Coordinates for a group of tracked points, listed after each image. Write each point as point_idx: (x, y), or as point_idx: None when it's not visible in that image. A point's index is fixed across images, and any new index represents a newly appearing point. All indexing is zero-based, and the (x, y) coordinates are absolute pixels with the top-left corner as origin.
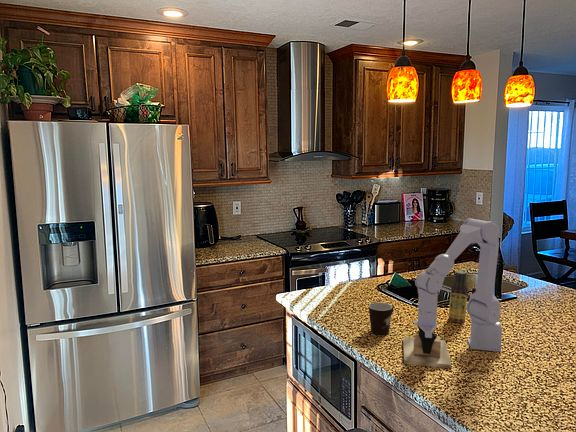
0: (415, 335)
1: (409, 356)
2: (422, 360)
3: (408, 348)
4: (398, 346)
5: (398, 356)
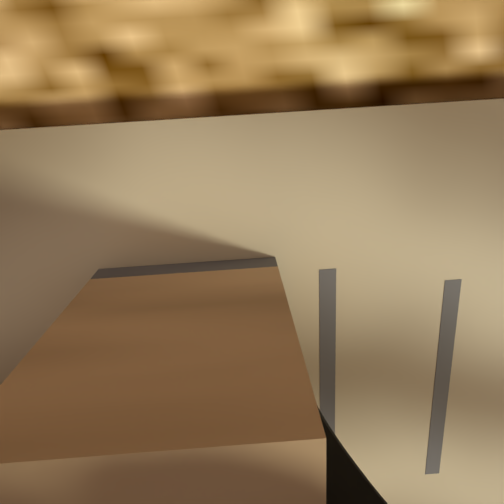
0: (248, 480)
1: (44, 211)
2: (5, 370)
3: (317, 185)
4: (465, 21)
5: (121, 40)
